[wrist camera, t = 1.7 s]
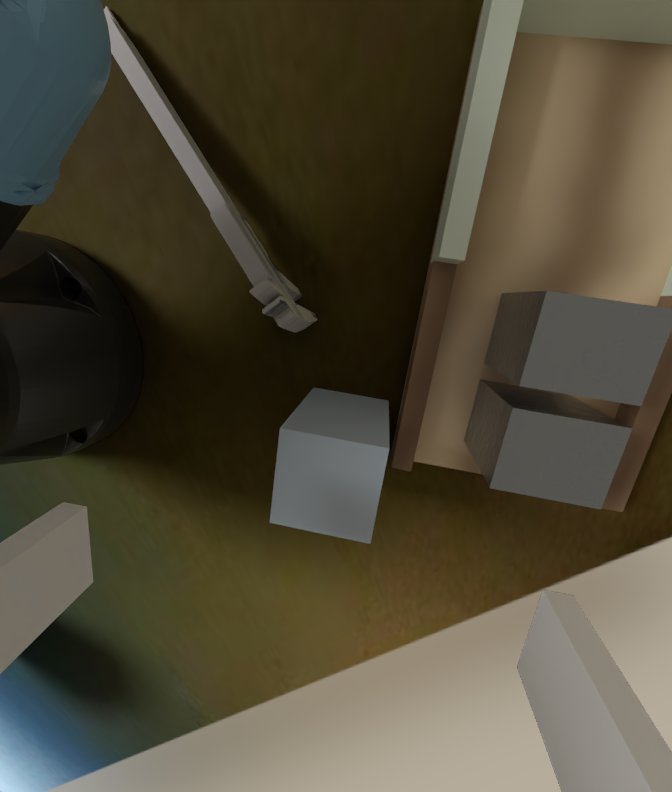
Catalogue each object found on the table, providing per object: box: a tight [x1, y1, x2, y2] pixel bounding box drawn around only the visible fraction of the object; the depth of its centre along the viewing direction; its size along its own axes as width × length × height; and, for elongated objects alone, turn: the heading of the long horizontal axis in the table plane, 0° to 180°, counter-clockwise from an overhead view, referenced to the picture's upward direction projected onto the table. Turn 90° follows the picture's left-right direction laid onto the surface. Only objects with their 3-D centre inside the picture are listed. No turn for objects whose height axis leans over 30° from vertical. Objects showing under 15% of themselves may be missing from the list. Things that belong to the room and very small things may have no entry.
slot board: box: [391, 1, 672, 512], centre depth 20 cm, size 13×24×2 cm, turn 172°
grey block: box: [270, 388, 389, 544], centre depth 21 cm, size 5×5×8 cm
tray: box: [431, 0, 672, 296], centre depth 17 cm, size 13×12×4 cm
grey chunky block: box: [484, 291, 672, 406], centre depth 18 cm, size 5×4×6 cm
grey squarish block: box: [464, 379, 633, 510], centre depth 19 cm, size 5×4×6 cm
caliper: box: [104, 6, 318, 333], centre depth 19 cm, size 20×1×6 cm, turn 35°
